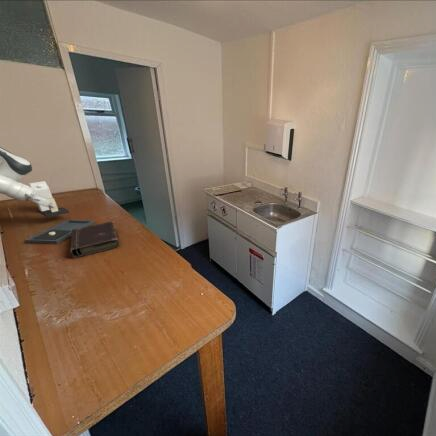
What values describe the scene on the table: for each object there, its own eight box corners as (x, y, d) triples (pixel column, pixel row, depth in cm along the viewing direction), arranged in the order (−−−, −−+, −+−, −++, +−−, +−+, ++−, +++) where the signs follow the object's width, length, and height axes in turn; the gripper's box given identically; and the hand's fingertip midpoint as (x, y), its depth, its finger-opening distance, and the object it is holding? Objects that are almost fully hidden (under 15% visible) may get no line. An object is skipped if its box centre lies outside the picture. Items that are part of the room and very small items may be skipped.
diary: (72, 259, 105) (68, 249, 103) (73, 237, 122) (70, 229, 120) (121, 246, 116) (119, 238, 114) (116, 228, 133) (114, 220, 131)
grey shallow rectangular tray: (26, 243, 115) (24, 240, 115) (68, 222, 138) (68, 219, 138) (57, 243, 116) (56, 240, 115) (94, 223, 139) (93, 220, 138)
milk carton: (39, 210, 152) (27, 182, 145) (54, 207, 158) (43, 180, 150) (42, 213, 149) (30, 184, 141) (57, 210, 154) (46, 182, 147)
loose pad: (46, 217, 133) (40, 202, 129) (40, 213, 137) (34, 198, 134) (69, 212, 141) (64, 197, 137) (62, 208, 145) (57, 194, 142)
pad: (33, 240, 117) (32, 236, 116) (52, 231, 126) (50, 228, 125) (54, 241, 117) (52, 237, 116) (71, 232, 126) (69, 228, 125)
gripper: (33, 191, 122) (64, 204, 134) (21, 185, 132) (51, 197, 143) (25, 201, 120) (56, 213, 132) (13, 194, 130) (43, 206, 141)
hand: (53, 205), depth 138 cm, fingers closed on loose pad, 3 cm apart
